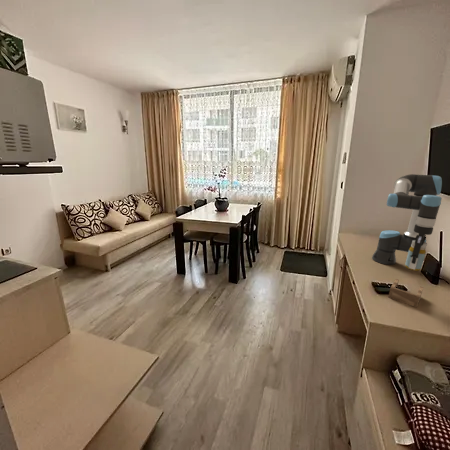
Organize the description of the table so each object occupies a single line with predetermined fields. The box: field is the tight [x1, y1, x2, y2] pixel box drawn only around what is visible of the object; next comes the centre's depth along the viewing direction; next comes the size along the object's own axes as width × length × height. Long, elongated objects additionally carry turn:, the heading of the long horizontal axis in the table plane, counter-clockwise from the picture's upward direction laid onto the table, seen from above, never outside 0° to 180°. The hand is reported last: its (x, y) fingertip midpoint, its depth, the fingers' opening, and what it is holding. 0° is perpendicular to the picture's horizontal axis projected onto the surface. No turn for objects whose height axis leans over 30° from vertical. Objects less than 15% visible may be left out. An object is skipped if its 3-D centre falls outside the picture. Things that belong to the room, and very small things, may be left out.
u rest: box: [388, 278, 424, 308], centre depth 135 cm, size 14×13×6 cm
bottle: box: [404, 240, 428, 272], centre depth 130 cm, size 7×7×15 cm
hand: (413, 266), depth 132 cm, fingers closed on bottle, 7 cm apart
